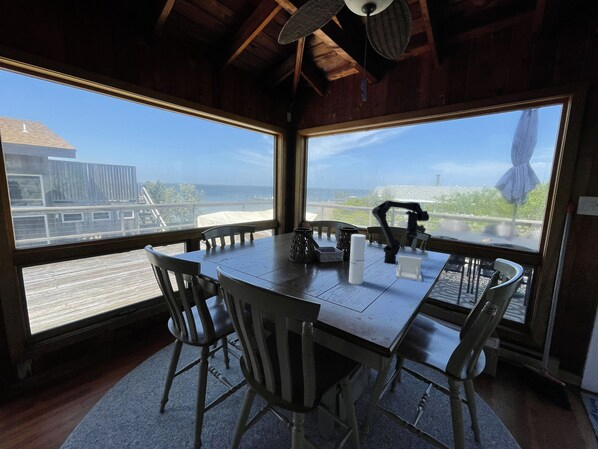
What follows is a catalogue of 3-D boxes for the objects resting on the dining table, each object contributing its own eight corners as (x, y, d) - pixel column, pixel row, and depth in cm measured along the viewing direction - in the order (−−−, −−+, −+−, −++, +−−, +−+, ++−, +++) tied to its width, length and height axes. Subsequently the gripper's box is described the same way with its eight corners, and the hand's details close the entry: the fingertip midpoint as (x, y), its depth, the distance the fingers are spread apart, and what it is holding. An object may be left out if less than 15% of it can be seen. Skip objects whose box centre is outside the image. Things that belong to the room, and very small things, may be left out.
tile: (397, 271, 148) (398, 256, 147) (397, 270, 150) (398, 255, 149) (420, 274, 144) (421, 259, 142) (419, 273, 146) (421, 258, 144)
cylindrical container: (362, 285, 129) (366, 237, 126) (348, 283, 131) (351, 236, 127) (362, 280, 136) (365, 234, 132) (348, 278, 138) (351, 233, 134)
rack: (395, 277, 141) (396, 267, 140) (396, 268, 158) (397, 259, 157) (421, 281, 137) (422, 271, 136) (419, 271, 153) (420, 261, 152)
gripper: (427, 224, 157) (424, 248, 159) (424, 220, 174) (422, 242, 176) (407, 222, 161) (405, 246, 163) (407, 219, 178) (405, 241, 180)
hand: (410, 244), depth 171 cm, fingers open, 9 cm apart
